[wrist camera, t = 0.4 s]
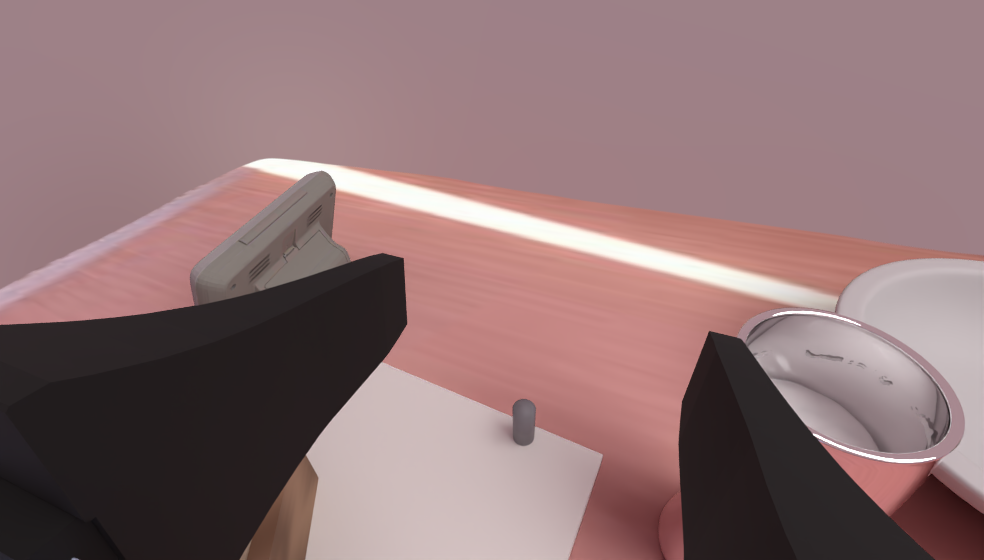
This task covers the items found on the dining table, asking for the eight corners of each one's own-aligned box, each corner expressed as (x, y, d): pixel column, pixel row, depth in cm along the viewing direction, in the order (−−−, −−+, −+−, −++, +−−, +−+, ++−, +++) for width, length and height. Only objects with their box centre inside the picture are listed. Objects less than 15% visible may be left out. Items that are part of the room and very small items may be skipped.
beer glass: (624, 540, 25) (691, 365, 16) (691, 462, 29) (781, 280, 19) (747, 662, 21) (940, 524, 11) (809, 554, 24) (998, 378, 15)
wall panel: (393, 1077, 14) (366, 1134, 11) (49, 684, 21) (-15, 665, 19) (601, 462, 29) (609, 427, 26) (357, 359, 36) (345, 323, 34)
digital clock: (321, 253, 48) (290, 159, 41) (391, 274, 45) (369, 175, 38) (184, 360, 37) (110, 255, 30) (264, 398, 33) (201, 290, 27)
